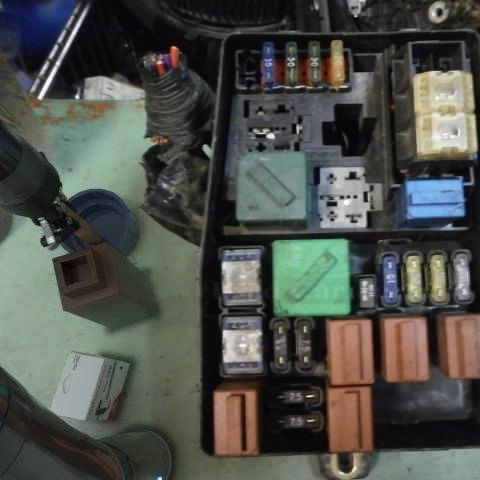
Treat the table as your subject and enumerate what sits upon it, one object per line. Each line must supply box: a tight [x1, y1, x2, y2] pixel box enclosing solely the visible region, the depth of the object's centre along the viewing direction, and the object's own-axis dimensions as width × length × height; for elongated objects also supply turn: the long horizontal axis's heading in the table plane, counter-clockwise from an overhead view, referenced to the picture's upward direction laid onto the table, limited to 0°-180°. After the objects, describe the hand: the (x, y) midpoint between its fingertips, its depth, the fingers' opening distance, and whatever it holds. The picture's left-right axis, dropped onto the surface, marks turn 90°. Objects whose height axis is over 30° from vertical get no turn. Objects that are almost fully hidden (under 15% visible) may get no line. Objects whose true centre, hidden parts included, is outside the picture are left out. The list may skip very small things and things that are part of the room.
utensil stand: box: [51, 242, 156, 329], centre depth 75 cm, size 7×7×21 cm
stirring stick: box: [61, 202, 101, 246], centre depth 79 cm, size 2×2×14 cm
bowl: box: [59, 188, 140, 258], centre depth 85 cm, size 11×11×6 cm
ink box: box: [49, 349, 131, 422], centre depth 76 cm, size 9×5×12 cm, turn 168°
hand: (71, 221), depth 77 cm, fingers closed on stirring stick, 2 cm apart
